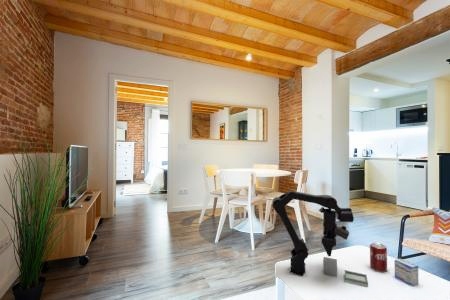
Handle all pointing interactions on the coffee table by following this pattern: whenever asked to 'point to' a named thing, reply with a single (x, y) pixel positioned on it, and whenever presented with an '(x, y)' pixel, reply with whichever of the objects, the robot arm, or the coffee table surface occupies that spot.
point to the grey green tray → (356, 278)
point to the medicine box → (406, 272)
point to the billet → (330, 267)
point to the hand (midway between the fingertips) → (329, 252)
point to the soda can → (378, 257)
